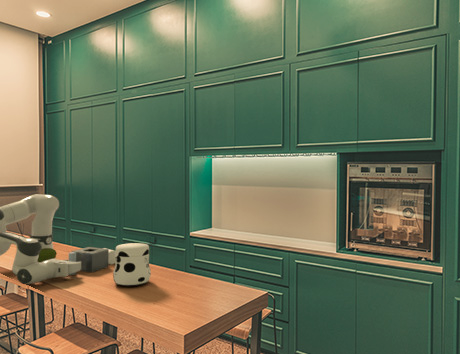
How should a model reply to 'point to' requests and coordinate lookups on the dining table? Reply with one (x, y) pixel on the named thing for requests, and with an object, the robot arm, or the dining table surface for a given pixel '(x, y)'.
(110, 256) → the mug
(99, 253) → the grey square box
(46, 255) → the apple
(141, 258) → the milk container
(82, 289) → the dining table surface
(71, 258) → the grey rounded cylinder
